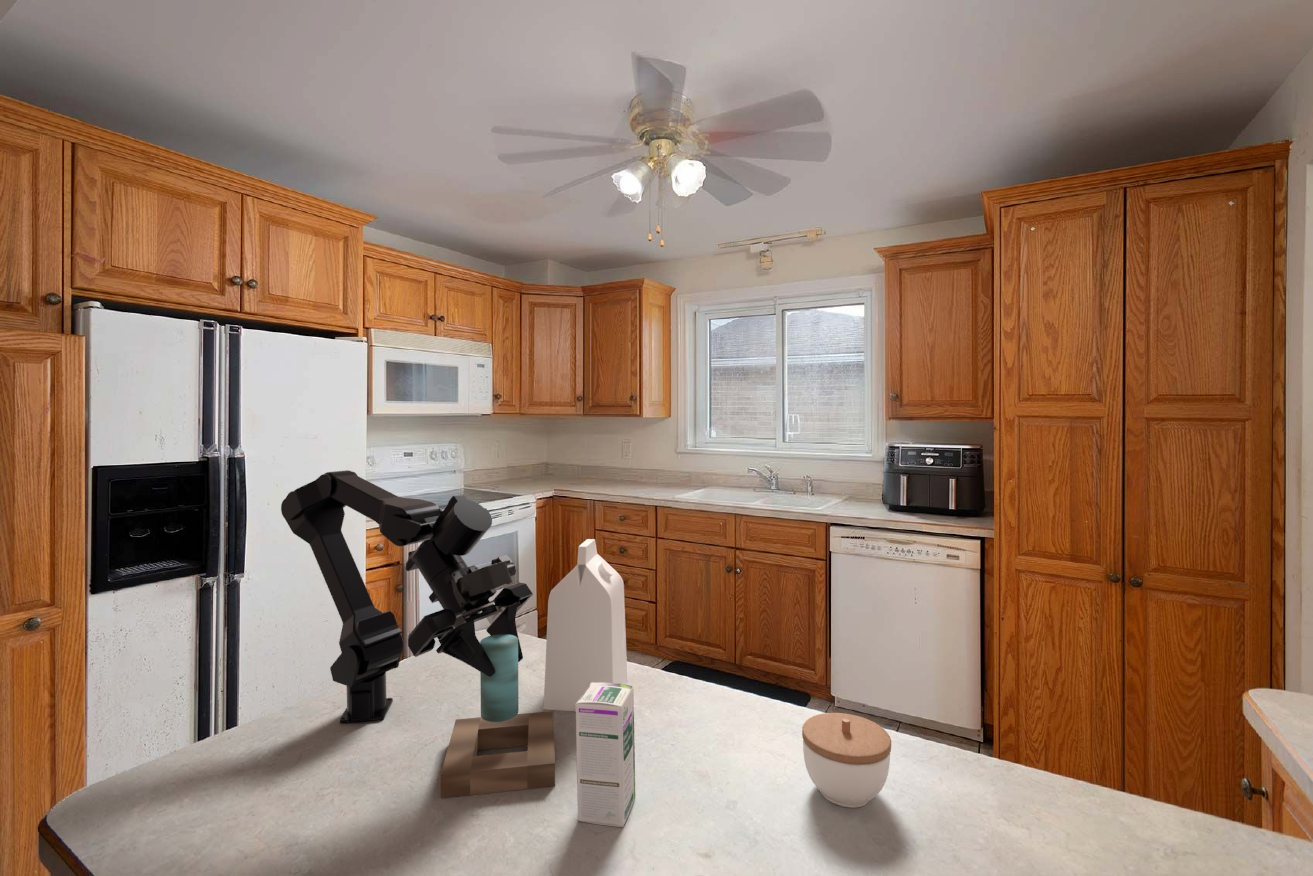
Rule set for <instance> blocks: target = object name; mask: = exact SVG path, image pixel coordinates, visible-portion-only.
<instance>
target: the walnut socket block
mask: <svg viewBox="0 0 1313 876" xmlns="http://www.w3.org/2000/svg"><path fill="white" fill-rule="evenodd" d="M554 730H555V729H554V710H550V711H548V710H547V711H540V712H538V711H537V712H528V713H527V712H526V713H518V714H517V715H516V716H515V717H514V718H512V719H509V720H506V721H502V722H489V721H486V720H484V719H482V718H481V716H480V717H479V716H478V717H470V718H457V719H455V721H454V725H453V728H452V733H451V735H450V738H449V742H448V747H447V750H446V754H445V758H444V760H443V761H444V762H443V765H442V768H441V772H440V798H441V799H445V798H447V799H448V798H455V797H457V798H458V797H463V796H473V795H474V796H475V795H483V794H491V793H493V794H495V793H503V792H510V791H518V790H519V791H521V790H529V789H531V790H532V789H538V788H539V789H540V788H547V787H549V788H550V787H555V786H556V761H555V760H556V759H555V758H556V753H555V734H554V733H555V731H554ZM523 746H527V750H526V751H514V752H513V751H512V752H504V753H496V754H483V755H479V754H478V753H479V751H480V750H481V751H482V750H492V749H503V748H513V747H523Z"/></svg>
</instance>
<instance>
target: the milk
mask: <svg viewBox="0 0 1313 876" xmlns="http://www.w3.org/2000/svg"><path fill="white" fill-rule="evenodd" d="M577 549H578V550H577V563H576V565H575V566H574V568H572V569H571V571H569V572H568V573H567V574H566V575H565V576H564V577H563V578H562V579H561V580H560V581H559V582H558V583H557V584H556V585H555V586H554V587H553V588H552V589H551V590H550V593H549V596H548V601H547V618H546V619H547V620H546V621H547V623H546V626H547V627H546V643H545V645H546V646H545V647H546V648H545V665H544V667H545V669H544V670H545V671H544V687H543V689H544V690H543V691H544V692H543V710H547V711H548V710H550V711H562V712H576V703H577V702H578V700H579V699H580V697H581V696H582V694H583V693H584V692H585V691H586V690H587V688H588V687H589V686H590V684H591V682H593V683H617V684H624V685H628V684H627V683H628V664H627V663H628V659H627V634H626V609H625V607H626V605H625V584H624V580H623V577H622V576H621V575H620V573H618V571H617V570H616V569H615V568H613V567H612V566H611V564H609V563H608V562H607V561H606V559H604V558H603V557H602V556H601V555H600V554H598V551H597V550H598V549H597V544H596V539H595V538H592V539H591V538H588V539H587V538H586V539H585V541H583V542H582V543H581V544H579V546H578V548H577Z"/></svg>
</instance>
